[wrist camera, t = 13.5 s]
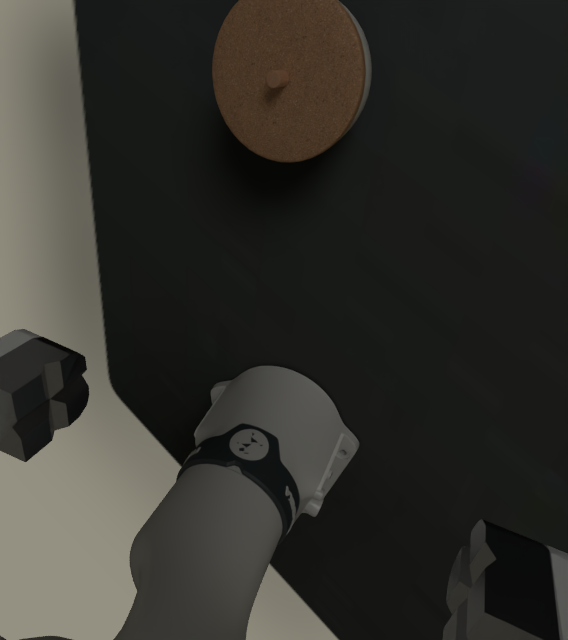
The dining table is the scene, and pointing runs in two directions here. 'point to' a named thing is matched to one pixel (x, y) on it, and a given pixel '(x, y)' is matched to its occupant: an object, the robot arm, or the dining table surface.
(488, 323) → the dining table surface
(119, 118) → the dining table surface
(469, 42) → the dining table surface
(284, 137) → the lidded jar
